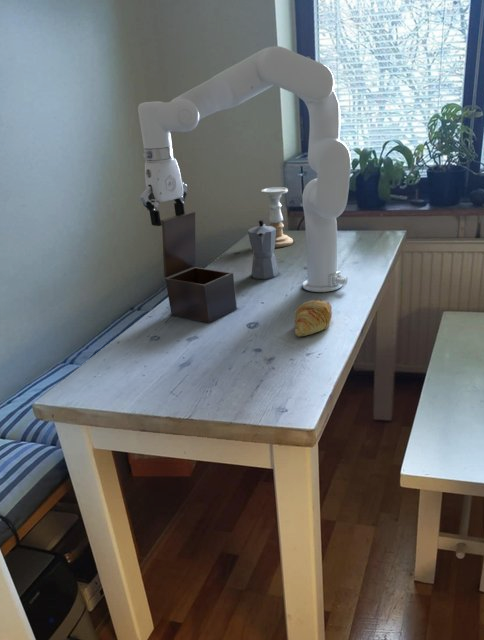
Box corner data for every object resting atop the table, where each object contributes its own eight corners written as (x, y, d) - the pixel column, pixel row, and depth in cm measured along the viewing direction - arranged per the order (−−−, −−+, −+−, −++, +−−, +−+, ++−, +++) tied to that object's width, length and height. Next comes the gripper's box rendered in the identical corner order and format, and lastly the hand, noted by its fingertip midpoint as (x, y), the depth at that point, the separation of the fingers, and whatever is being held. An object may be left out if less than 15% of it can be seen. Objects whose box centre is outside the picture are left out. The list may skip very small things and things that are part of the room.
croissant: (309, 353, 157) (321, 329, 152) (276, 333, 158) (288, 308, 153) (335, 322, 173) (348, 299, 168) (306, 304, 174) (317, 281, 169)
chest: (236, 309, 180) (233, 272, 174) (209, 323, 172) (204, 285, 166) (199, 301, 188) (194, 266, 182) (171, 314, 179) (165, 278, 174)
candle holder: (264, 240, 247) (260, 187, 236) (294, 239, 245) (292, 185, 234) (260, 248, 237) (255, 193, 226) (291, 247, 235) (288, 191, 224)
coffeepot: (277, 280, 201) (274, 224, 191) (249, 281, 202) (244, 225, 192) (280, 266, 214) (277, 213, 204) (253, 268, 214) (249, 215, 205)
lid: (195, 212, 172) (182, 207, 174) (163, 221, 163) (150, 217, 165) (195, 265, 182) (183, 261, 184) (166, 277, 173) (153, 272, 175)
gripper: (145, 160, 154) (156, 229, 163) (191, 150, 165) (199, 216, 174) (125, 159, 158) (137, 227, 167) (171, 150, 169) (180, 214, 178)
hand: (168, 221), depth 171 cm, fingers open, 9 cm apart
